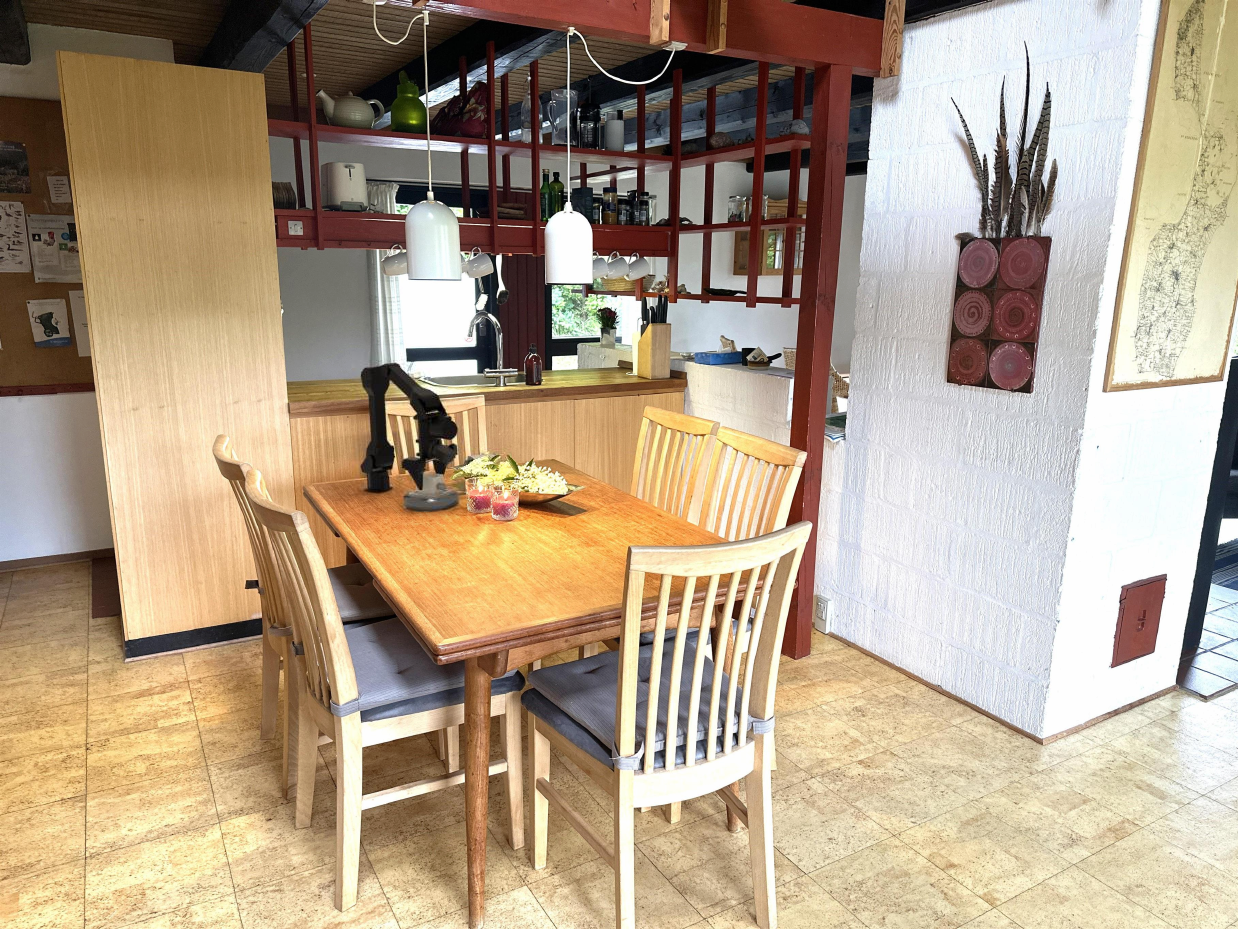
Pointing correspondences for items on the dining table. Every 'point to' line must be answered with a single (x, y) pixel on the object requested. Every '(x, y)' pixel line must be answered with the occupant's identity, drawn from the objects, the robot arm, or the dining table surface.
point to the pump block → (432, 484)
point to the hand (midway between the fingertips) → (430, 486)
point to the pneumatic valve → (476, 457)
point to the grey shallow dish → (431, 500)
